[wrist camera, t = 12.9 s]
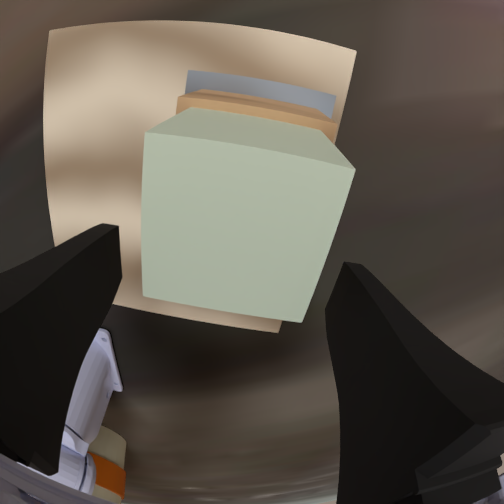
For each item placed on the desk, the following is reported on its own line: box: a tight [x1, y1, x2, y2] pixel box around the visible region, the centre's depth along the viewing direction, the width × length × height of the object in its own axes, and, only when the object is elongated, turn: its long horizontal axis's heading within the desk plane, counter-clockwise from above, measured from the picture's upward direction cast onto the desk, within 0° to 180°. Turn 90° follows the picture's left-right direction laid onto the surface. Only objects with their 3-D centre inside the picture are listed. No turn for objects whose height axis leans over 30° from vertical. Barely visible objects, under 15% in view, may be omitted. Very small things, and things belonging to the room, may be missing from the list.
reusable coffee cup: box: [36, 425, 126, 504], centre depth 31 cm, size 13×12×15 cm
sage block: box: [141, 107, 356, 323], centre depth 9 cm, size 4×4×4 cm
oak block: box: [176, 89, 338, 143], centre depth 13 cm, size 5×5×4 cm
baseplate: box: [43, 21, 357, 333], centre depth 17 cm, size 18×16×1 cm
